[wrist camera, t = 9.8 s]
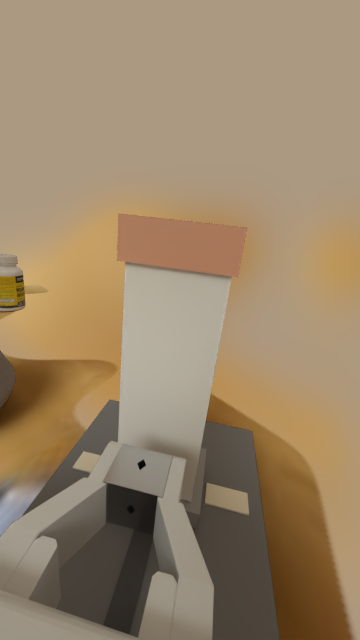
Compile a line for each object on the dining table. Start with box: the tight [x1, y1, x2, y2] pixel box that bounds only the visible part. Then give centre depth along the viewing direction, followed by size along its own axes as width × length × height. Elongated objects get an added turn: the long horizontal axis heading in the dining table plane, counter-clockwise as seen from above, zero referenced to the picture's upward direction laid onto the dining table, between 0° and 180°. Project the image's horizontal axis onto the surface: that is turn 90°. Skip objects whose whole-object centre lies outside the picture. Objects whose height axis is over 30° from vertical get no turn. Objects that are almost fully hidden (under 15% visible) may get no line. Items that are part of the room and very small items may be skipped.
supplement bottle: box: [0, 254, 25, 311], centre depth 45 cm, size 5×5×10 cm
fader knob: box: [117, 214, 247, 528], centre depth 12 cm, size 5×4×14 cm
